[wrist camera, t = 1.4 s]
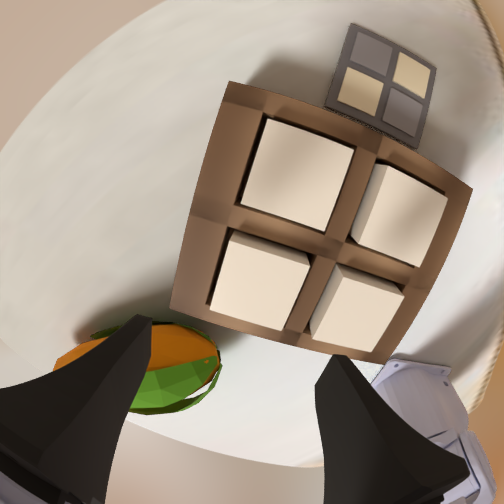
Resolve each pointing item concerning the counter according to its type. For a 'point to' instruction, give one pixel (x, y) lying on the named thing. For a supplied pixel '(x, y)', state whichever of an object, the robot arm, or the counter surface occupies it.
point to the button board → (299, 235)
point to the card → (382, 85)
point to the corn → (167, 367)
